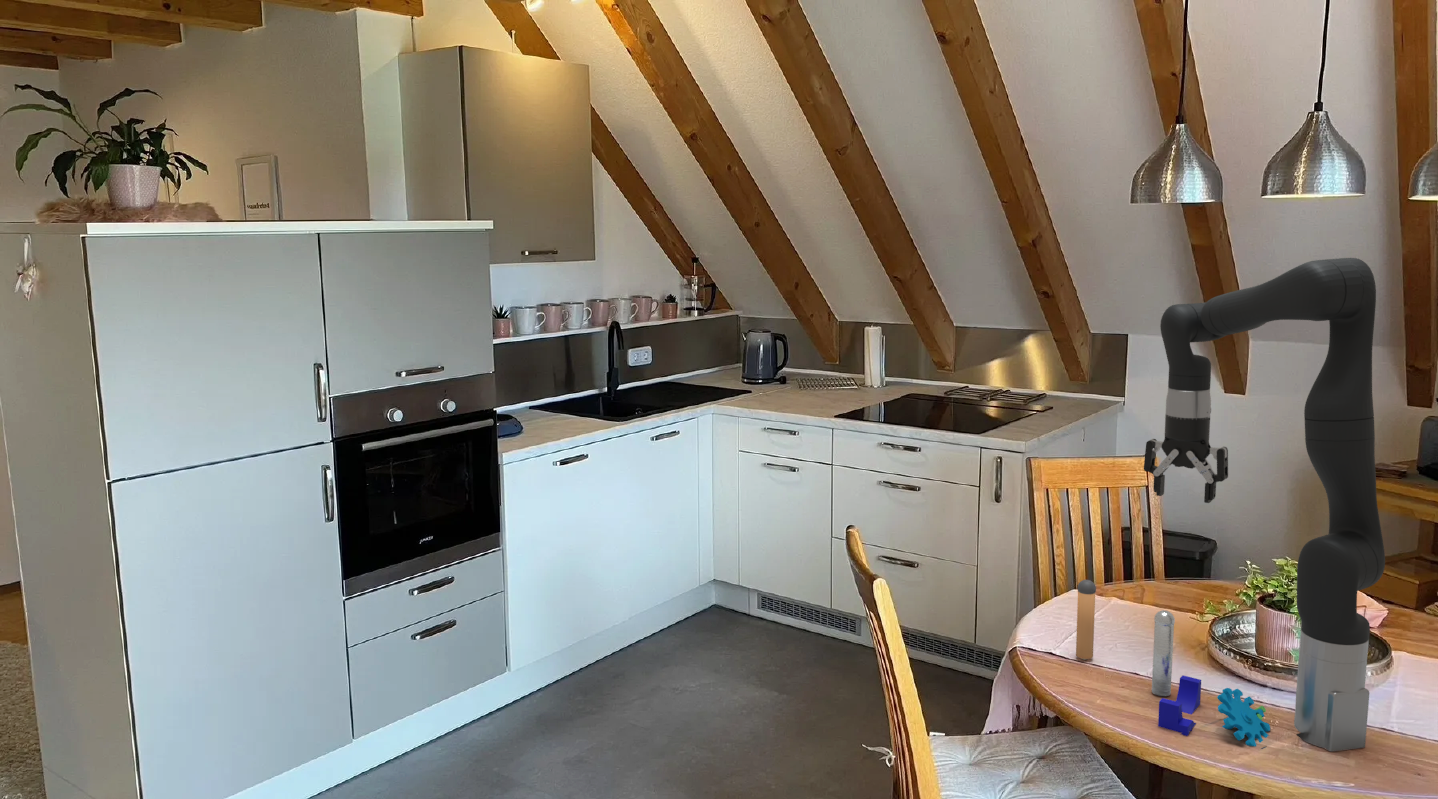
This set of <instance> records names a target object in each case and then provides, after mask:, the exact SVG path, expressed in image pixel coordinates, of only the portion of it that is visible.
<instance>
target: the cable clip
mask: <svg viewBox="0 0 1438 799" xmlns="http://www.w3.org/2000/svg"><path fill="white" fill-rule="evenodd" d="M1178 684H1179V686H1178V690H1177V691H1178V692H1177V696H1176V699H1175V700H1171V699H1168V698H1164V697H1162V698H1161V699H1160V700H1159V703H1158V722H1157V726H1158V728H1159V727H1160V728H1163V729H1167V730H1169V731H1174V732H1177V733H1179V734H1180V735H1181V736H1185V737H1188V736H1189V735H1190V732H1192V731H1193V728H1194V727H1195V726H1196V725H1197V722H1194V720H1193V719H1188V718H1185V717H1184V716H1183V713H1185V714H1188V715H1193V714H1194V712H1195V711H1196V710H1197V708H1199V706H1200V705H1201V697H1202V695H1201V694H1202V693H1201V691H1202V679H1200V678H1195V677H1192V676H1187V675H1181V677H1180V678H1179V683H1178Z"/></svg>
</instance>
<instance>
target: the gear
mask: <svg viewBox="0 0 1438 799" xmlns="http://www.w3.org/2000/svg"><path fill="white" fill-rule="evenodd" d="M1243 696H1244V693H1243V691H1242V690H1240V689H1239V688H1235V689H1232V688H1231V687H1226V688H1223V689H1222V692H1221V693H1220V694H1218V695H1217V697H1216V698H1217V700H1218V701H1219V702H1220V704H1219V705H1218V706H1217V710H1218V712H1219V713H1220V714H1223V715H1226V716H1227V717H1226V718H1224V719H1223V720H1222V721H1223V723H1224V724H1223V725H1222V728H1223V729H1226V730H1233V729H1234V728H1237V730H1235V732H1233V735H1234V737H1235V739H1236V740H1237V741H1241V740H1243V739H1245V735H1246V737H1247V738H1248V739H1247V740H1246V741H1245V745H1246V746H1248V747H1249V746H1250V747H1257V743H1256V740H1258V743H1259V744H1260V743H1262V742H1263V741H1264V739H1263V738H1262V737H1264V738H1265V739H1267V738H1268V737H1269V736H1270V735H1269V734H1268V732H1270V731H1271V725H1270V723H1268V722H1265V721H1264V720H1263V718H1264V717H1265V713H1266V712H1267V710H1266V707H1264V706H1263V705H1260V706H1258V707H1256V708H1252V707H1251V706H1253V705H1254V704H1255V701H1254V699H1253V698H1252V697H1251V696H1249V695H1248V696H1247V697H1245V698H1244V699H1243V700H1241V697H1243ZM1255 739H1256V740H1255ZM1266 748H1267V746H1264V747H1261V748H1260V750H1263V749H1266Z"/></svg>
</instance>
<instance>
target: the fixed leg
mask: <svg viewBox="0 0 1438 799" xmlns="http://www.w3.org/2000/svg"><path fill="white" fill-rule="evenodd" d="M1153 619H1154V620H1153V621H1154V631H1153V632H1154V634H1153V635H1154V636H1153V649H1152V650H1153V651H1152V652H1153V654H1152V672H1151V673H1152V674H1151V693H1152V694H1154V695H1155V696H1159V697H1167V696H1170V695H1171V692H1172V674H1173V653H1174V652H1173V651H1174V650H1173V649H1174V633H1175V631H1174V629H1175V623H1176V620H1175V616H1174V614H1173V613H1172V612H1170V611H1168V610H1164V609H1163V610H1159V611H1157V612H1156V614H1155V615H1154V618H1153Z"/></svg>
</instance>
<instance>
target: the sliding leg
mask: <svg viewBox="0 0 1438 799" xmlns="http://www.w3.org/2000/svg"><path fill="white" fill-rule="evenodd" d="M1096 591H1097V586H1096V584H1095V583H1094V582H1093V581H1092V580H1091V579H1083V580H1080V582H1078V585H1077V609H1076V611H1077V612H1076V613H1077V614H1076V637H1075V638H1076V640H1075V641H1076V642H1075V646H1076V647H1075V656H1076V657H1077V658H1079V659H1081V660H1084V661H1087V660H1091V659H1093V658H1094V645H1095V644H1094V640H1095V639H1094V638H1095V637H1094V636H1095V611H1096V609H1095V608H1096Z"/></svg>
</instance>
